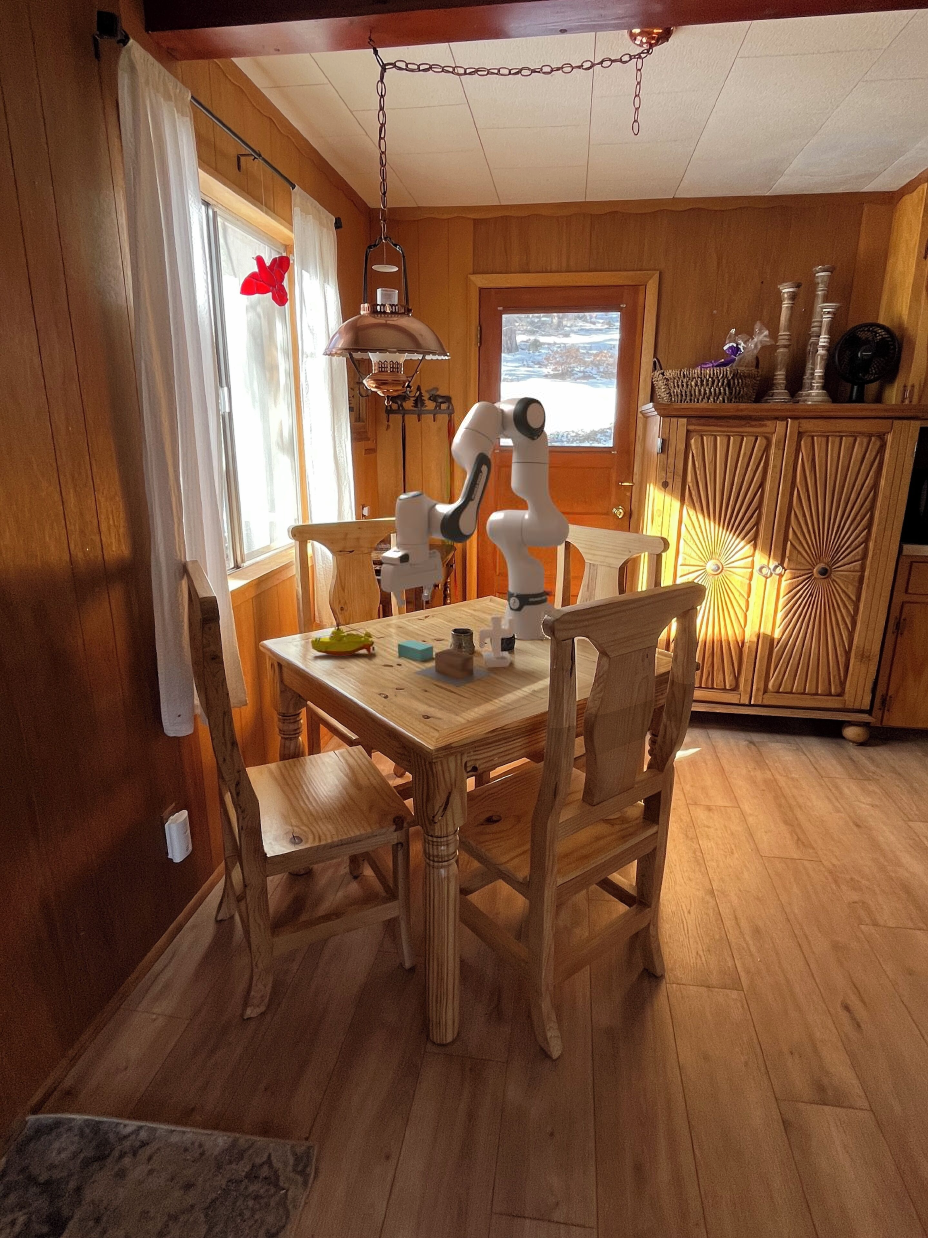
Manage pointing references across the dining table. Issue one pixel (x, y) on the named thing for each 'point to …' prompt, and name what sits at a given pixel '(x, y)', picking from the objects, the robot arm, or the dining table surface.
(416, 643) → the teal block
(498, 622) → the figurine
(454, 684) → the baseplate
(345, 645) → the toy boat
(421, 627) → the dining table surface
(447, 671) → the walnut block
